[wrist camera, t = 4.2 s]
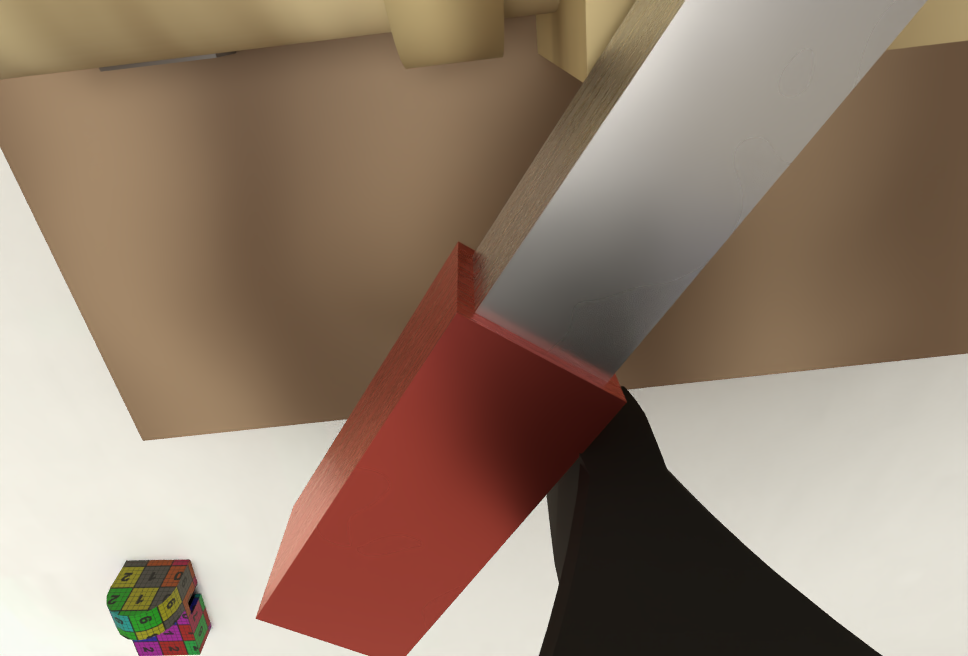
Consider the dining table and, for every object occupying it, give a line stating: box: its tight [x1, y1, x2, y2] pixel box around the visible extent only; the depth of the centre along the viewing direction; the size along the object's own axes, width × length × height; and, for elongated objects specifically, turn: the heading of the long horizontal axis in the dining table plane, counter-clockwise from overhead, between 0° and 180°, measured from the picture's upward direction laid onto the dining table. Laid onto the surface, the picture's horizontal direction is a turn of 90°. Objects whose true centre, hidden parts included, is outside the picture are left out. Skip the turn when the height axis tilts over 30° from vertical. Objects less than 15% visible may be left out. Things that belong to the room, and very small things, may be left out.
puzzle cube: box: [107, 560, 211, 656], centre depth 19 cm, size 4×3×2 cm, turn 179°
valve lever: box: [256, 0, 927, 656], centre depth 6 cm, size 12×2×2 cm, turn 149°
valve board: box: [0, 0, 968, 441], centre depth 9 cm, size 26×16×6 cm, turn 96°
